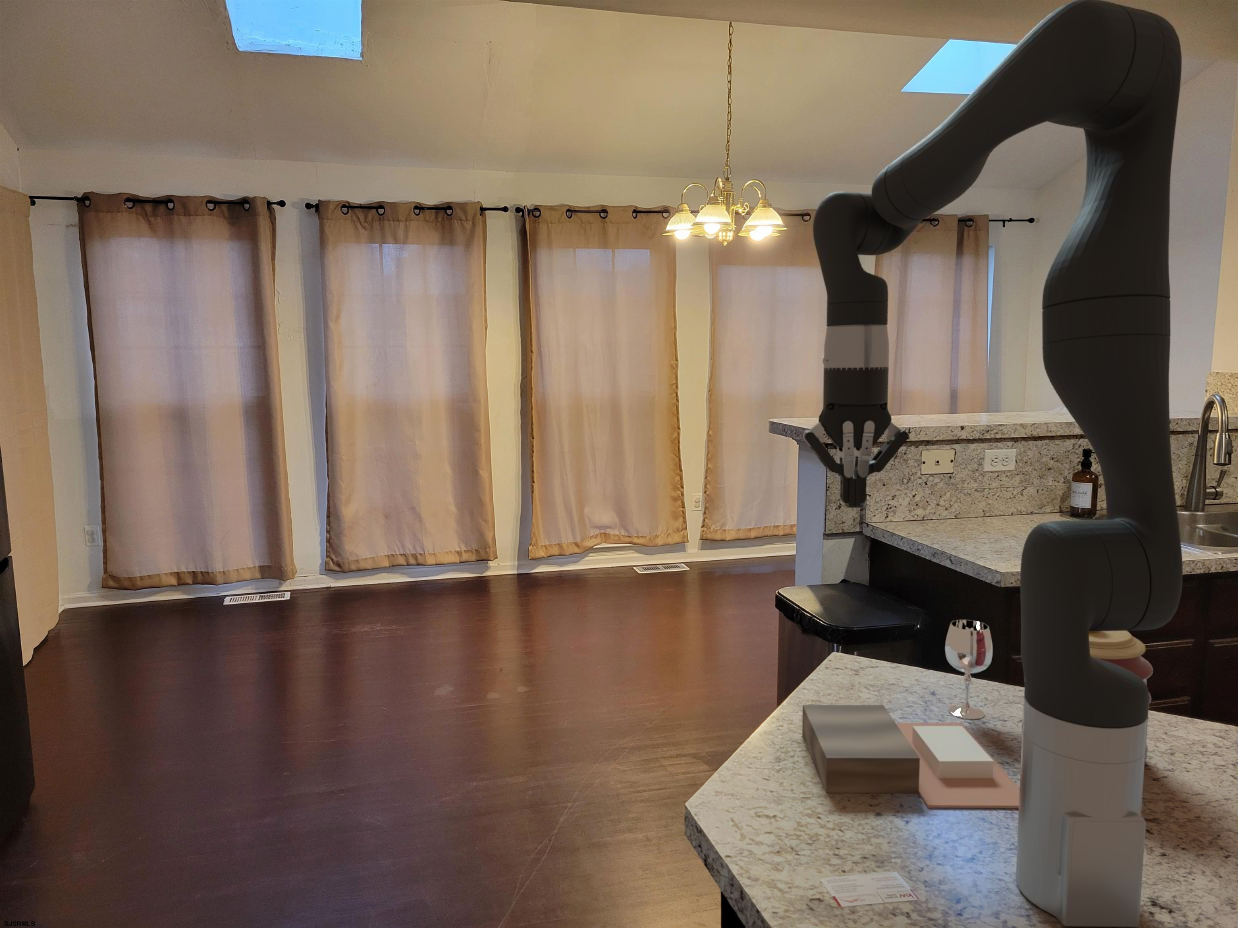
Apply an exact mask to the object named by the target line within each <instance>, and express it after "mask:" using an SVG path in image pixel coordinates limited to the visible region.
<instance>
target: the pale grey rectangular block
mask: <svg viewBox="0 0 1238 928" xmlns="http://www.w3.org/2000/svg"><path fill="white" fill-rule="evenodd" d="M912 742H913V743H914V745H915V746H916V748H917V749H918V750H919V752H920V753H921V754H922V756H923V757H924V759H925V760H926V761H927V763H928V764H929V765H930V767H931V768H932V770H933V771H934V772H935V774H936V775H937V776H938V778H993V765H994V761H993V760H992V759H991V758H990V756H989V755H988V754H987V753H986V752H985V751H984V750H983V749H982V748H981V746H980V745H979V744H978V743H977V742H976V741H975V740H974V739H973V737H972V736H971V735H970V734H969V733H968V732H967V731H966V730H965V729H964V727H963V726H913V731H912Z"/></svg>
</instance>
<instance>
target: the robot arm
mask: <svg viewBox="0 0 1238 928" xmlns="http://www.w3.org/2000/svg"><path fill="white" fill-rule="evenodd" d="M1181 46H1182V45H1181V42H1180V37H1179V36H1178V33H1177V30H1176V28H1175V27H1174V26H1173V25H1172V24H1171V22H1170V21H1169V20H1167V19H1166V18H1165V17H1164V16H1161V15H1159V14H1157V13H1153V12H1151V11H1149V10H1145V9H1141V8H1136V7H1131V6H1127V5H1122V4H1118V3H1115V2H1110V1H1107V0H1073V1H1069V2H1068V3H1065V4H1062V6H1059V7H1058V8H1057V9H1055V10H1054V11H1052V12H1051V13H1049V14H1048V15H1047V16H1046V17H1044V19H1042V20H1041V21H1039V23H1037V24H1036V25H1035V26H1034V27H1033V28H1032V29H1031V30H1030V31H1029V32H1028V33H1027V34H1026V35H1025V36H1024V37H1023V38H1022V39H1021V40H1020V41H1018V44H1017V45H1015V47H1013V48H1012V50H1010V52H1009V53H1008V54H1007V55H1006V56H1004V58H1003V59H1002V60H1001V61H1000V62H999V64H997V66H996V67H994V69H993V70H992V71H991V72H990V73H989V74H988V75H987V76H986V77H985V78H984V79H983V80H982V81H981V82H980V83H979V84H978V86H976V88H974V90H973V91H972V92H971V93H970V94H968V95H967V97H965V99H964V100H963V102H961V104H960V105H959V106H958V107H957V108H955V110H954V111H953V112H952V113H951V114H950V115H949V116H948V117H947V118H946V119H945V120H943V122H942V123H940V124H939V126H937V127H936V128H935V129H934V130H933V131H932V132H930V133H929V134H928V135H926V137H924V138H923V139H921V140H920V141H919V142H918V143H916V144H915V145H914V146H912V147H911V148H909V149H907V151H905V152H904V153H902V155H900V156H899V157H898V158H896V159H895V160H893V161H891V163H889V164H888V165H887V166H886V167H885V168H883V169H882V170H881V171H880V172H879V173H878V174H877V176H876V178H875V179H874V181H873V184H872V187H871V193H869V192H866V193H865V192H857V191H856V192H855V191H853V192H852V191H834V192H831V193H829V194H827V195H826V196H825V197H824V198H823V199H822V200H821V201H820V203H819V205H818V207H817V209H816V211H815V214H814V217H813V223H812V236H813V242H814V246H815V250H816V255H817V258H818V262H819V266H820V270H821V274H822V278H823V283H824V286H825V291H826V331H825V339H824V344H823V356H822V363H823V384H822V385H823V386H822V387H823V388H822V389H823V390H822V391H823V392H822V395H823V396H822V397H823V398H822V410H821V412H820V414H819V416H818V423H816V424H815V425H813V426H812V427H811V428H810V429H808V430H803V431H802V432H801V438H802V439H803V441H804V442H805V443H806V445H807V446H808V447H809V448H810V450H811V451H812V452H813V453H814V455H815V456H816V457H817V458H818V460H819V461H820V463H821V464H822V465H823V466H824V467H825V469H826V470H828V471H830V472H831V473H834V474H836V475H839V477H840V478H839V480H840V482H839V488H840V489H839V499H840V501H841V502H842V503H844V506H845V507H846V508H848V509H860V508H861V506H862V504H865V502H866V500H867V480H868V477H869V476H870V475H871V474H874V473H880V472H882V471H884V469H885V467H887V465H888V464H889V462H890V461H891V460H892V459H893V458H894V456H895V455H896V454H897V453H898V451H899V450H900V449H901V448H902V447H903V445H905V444H906V442H907V440H908V439H909V432H908V431H905V430H903V429H901V428H900V427H898V426H897V425H895V423H893V422H892V415H891V413H890V410H889V408H888V405H889V404H888V403H889V370H890V369H889V363H890V342H889V334H888V320H889V319H888V317H889V316H888V315H889V314H888V313H889V308H888V307H889V289H888V288H889V287H888V283H887V281H886V280H885V279H884V278H883V277H882V276H878V275H876V274H873V273H870V272H868V271H867V270H865V269H864V267H863V266H862V262H861V260H860V257H859V256H880V255H884V254H886V253H889V252H892V251H894V250H896V249H897V248H899V247H900V246H901V245H902V244H904V242H905V241H906V240H907V239H908V237H909V236H910V235H911V234H912V233H913V232H914V231H915V229H917V227H918V226H919V225H920V223H921V222H922V221H923V220H925V219H926V218H929V217H931V216H932V215H934V214H936V213H937V212H938V211H940V210H941V209H943V208H945V207H946V206H948V205H950V204H952V202H955V201H956V200H957V199H958V198H960V197H961V196H962V195H964V194H965V193H966V192H967V191H968V190H969V189H970V188H971V187H972V186H973V184H975V182H976V181H977V180H978V178H979V176H980V175H981V173H982V171H983V169H984V167H985V166H986V163H987V161H988V158H989V156H990V155H991V153H992V152H993V151H994V150H995V149H996V148H997V147H998V146H1000V145H1001V144H1002V143H1004V142H1005V141H1006V140H1008V139H1010V138H1013V137H1014V136H1016V135H1018V134H1020V133H1022V132H1025V131H1026V130H1029V129H1031V128H1034V127H1035V126H1038V125H1041V124H1043V123H1046V122H1048V123H1051V124H1055V125H1059V126H1065V127H1072V128H1077V129H1083V132H1084V138H1085V147H1086V149H1085V150H1086V151H1085V152H1086V172H1085V173H1086V174H1085V175H1086V176H1085V178H1086V179H1085V188H1084V194H1083V198H1082V203H1081V206H1080V208H1079V212H1078V213H1077V215H1076V218H1075V220H1074V222H1073V224H1072V226H1071V228H1070V230H1069V231H1068V233H1067V235H1066V236H1065V239H1064V240H1063V242H1062V244H1061V246H1060V248H1059V249H1058V251H1057V254H1056V255H1055V257H1054V260H1053V262H1052V264H1051V266H1050V268H1049V270H1048V273H1047V276H1046V279H1045V282H1044V286H1043V291H1042V301H1041V302H1042V303H1041V309H1042V311H1041V313H1042V314H1041V317H1042V319H1041V323H1042V324H1041V325H1042V326H1041V332H1042V335H1041V337H1042V338H1041V339H1042V341H1041V342H1042V343H1041V344H1042V347H1041V348H1042V361H1043V367H1044V371H1045V373H1046V376H1047V378H1048V380H1049V382H1050V384H1051V386H1052V388H1053V390H1054V391H1055V393H1056V394H1057V396H1058V398H1059V399H1060V402H1061V403H1062V404H1063V406H1064V407H1065V408H1066V410H1067V411H1068V413H1069V414H1070V417H1072V418H1073V420H1074V422H1075V423H1076V424H1077V426H1078V427H1079V429H1080V430H1081V432H1082V433H1083V434H1084V436H1085V438H1086V439H1087V441H1088V442H1089V444H1090V446H1091V447H1092V451H1093V452H1094V454H1095V457H1096V458H1097V461H1098V463H1099V467H1100V471H1101V475H1102V479H1103V480H1102V481H1103V487H1104V493H1105V505H1106V506H1105V508H1106V509H1105V510H1106V518H1105V519H1090V520H1088V519H1086V520H1083V519H1081V520H1079V519H1078V520H1051V521H1046V522H1045V521H1044V522H1042V523H1039V524H1037V525H1036V526H1034V527H1033V528H1032V529H1031V530H1030V532H1029V534H1028V535H1027V537H1026V540H1025V541H1024V545H1023V549H1022V553H1021V559H1020V574H1019V576H1020V577H1019V578H1020V579H1019V581H1020V582H1019V584H1020V587H1019V588H1020V656H1021V657H1020V658H1021V665H1022V669H1023V670H1022V672H1023V680H1024V679H1025V682H1024V693H1023V694H1024V697H1023V712H1022V713H1023V715H1022V723H1023V729H1022V728H1021V750H1020V751H1021V753H1020V755H1021V757H1020V773H1019V775H1020V777H1019V788H1020V792H1019V808H1018V815H1017V816H1018V818H1017V835H1016V836H1017V841H1016V844H1017V845H1016V846H1017V847H1016V865H1015V866H1016V868H1015V869H1016V870H1015V882H1016V885H1017V888H1018V889H1019V891H1021V893H1022V894H1023V896H1024V897H1025V898H1027V899H1028V900H1029V901H1030V902H1031V903H1033V904H1034V905H1035V906H1037V907H1039V909H1041V910H1043V911H1045V912H1046V913H1049V914H1050V915H1052V916H1054V917H1056V918H1057V919H1058V920H1059V922H1060V923H1061V924H1062V925H1063V926H1065V927H1103V928H1104V927H1105V928H1106V927H1107V928H1108V927H1110V928H1112V927H1114V928H1115V927H1116V928H1117V927H1118V928H1119V927H1122V928H1123V927H1124V928H1138V927H1139V926H1140V916H1141V915H1140V914H1141V901H1142V898H1141V897H1142V887H1143V885H1142V884H1143V870H1144V859H1145V857H1144V854H1145V841H1146V839H1145V838H1146V826H1147V823H1146V820H1145V818H1144V817H1143V816H1142V807H1143V806H1142V805H1143V792H1144V789H1143V788H1144V778H1145V777H1144V774H1145V763H1144V761H1145V749H1146V744H1147V740H1146V734H1147V735H1148V725H1147V717H1148V718H1149V710H1148V708H1149V707H1150V703H1149V693H1150V692H1149V688H1148V686H1147V685H1146V684H1147V683H1146V684H1145V682H1144V681H1143V680H1142V679H1141V678H1140V677H1139V676H1137V675H1136V674H1134V673H1133V672H1131V671H1129V670H1127V669H1125V668H1123V667H1121V666H1118V665H1116V664H1113V663H1110V662H1107V661H1104V660H1101V659H1098V658H1095V657H1092V656H1091V655H1090V646H1089V631H1128V632H1129V631H1151V630H1156V629H1159V628H1161V627H1164V626H1165V625H1167V623H1169V622H1171V620H1172V619H1173V617H1174V615H1175V614H1176V613H1177V611H1178V608H1179V605H1180V600H1181V597H1182V592H1183V591H1182V590H1183V575H1184V574H1183V570H1184V568H1183V567H1184V565H1183V552H1182V551H1183V550H1182V544H1181V543H1182V542H1181V533H1180V530H1181V529H1180V525H1179V523H1180V522H1179V517H1178V506H1177V499H1176V489H1175V481H1174V474H1173V464H1172V463H1173V459H1172V447H1171V445H1172V444H1171V429H1170V428H1171V426H1170V423H1171V422H1170V420H1171V419H1170V362H1171V361H1170V357H1171V354H1170V353H1171V285H1170V267H1169V266H1170V264H1169V263H1170V262H1169V261H1170V258H1169V257H1170V255H1169V254H1170V252H1169V251H1170V220H1171V219H1170V215H1171V209H1170V208H1171V204H1170V203H1171V195H1170V194H1171V176H1172V175H1171V174H1172V164H1173V155H1174V154H1173V153H1174V152H1173V151H1174V144H1175V143H1174V142H1175V137H1176V136H1175V134H1176V127H1177V126H1176V125H1177V118H1178V117H1177V116H1178V109H1179V102H1180V101H1179V100H1180V91H1181V81H1182V68H1183V67H1182V62H1183V61H1182V60H1183V58H1182V57H1183V56H1182V50H1181ZM824 433H825V434H826V436H828V438H829V440H830V441H831V442H832V444H833V445H834V446H836V447H837V457H838V462H837V460H835V458H834V457H833V456H832V454H831V453H830V452H829V451H828V448H826V447H825V446H824V444H823V443H824V441H825V436H824ZM884 433H885V434H884ZM883 435H884V437H883ZM881 437H883V438H884V443H883V444H882V445H881V446H880V448H879V449H878V450H877V451H876V453H875V454H874V456H872V449H873V447H874V446H875V445H876V444H877V443H878V442H879V440H880V439H881ZM871 457H872V458H871ZM1145 762H1146V761H1145Z"/></svg>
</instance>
